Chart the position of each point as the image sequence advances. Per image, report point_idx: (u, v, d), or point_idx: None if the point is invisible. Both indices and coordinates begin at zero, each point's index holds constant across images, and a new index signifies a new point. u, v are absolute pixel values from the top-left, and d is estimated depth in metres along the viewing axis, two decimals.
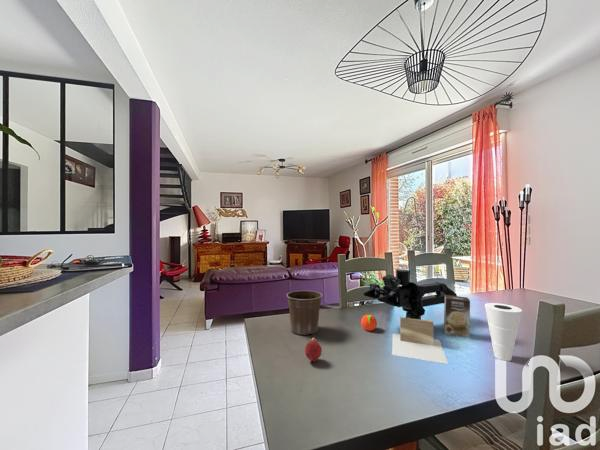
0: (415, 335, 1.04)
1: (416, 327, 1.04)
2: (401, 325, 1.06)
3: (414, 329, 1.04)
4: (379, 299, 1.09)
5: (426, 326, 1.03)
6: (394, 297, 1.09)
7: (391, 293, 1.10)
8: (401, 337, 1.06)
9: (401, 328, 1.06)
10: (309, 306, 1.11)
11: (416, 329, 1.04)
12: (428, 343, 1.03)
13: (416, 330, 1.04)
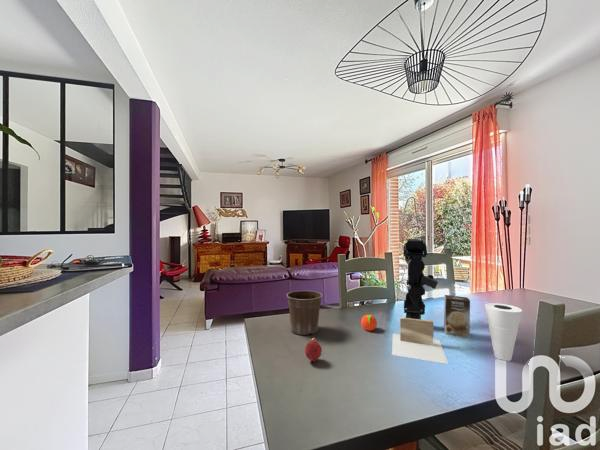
0: (415, 335, 1.04)
1: (416, 327, 1.04)
2: (401, 325, 1.06)
3: (414, 329, 1.04)
4: None
5: (426, 326, 1.03)
6: None
7: None
8: (401, 337, 1.06)
9: (401, 328, 1.06)
10: (309, 306, 1.11)
11: (416, 329, 1.04)
12: (428, 343, 1.03)
13: (416, 330, 1.04)
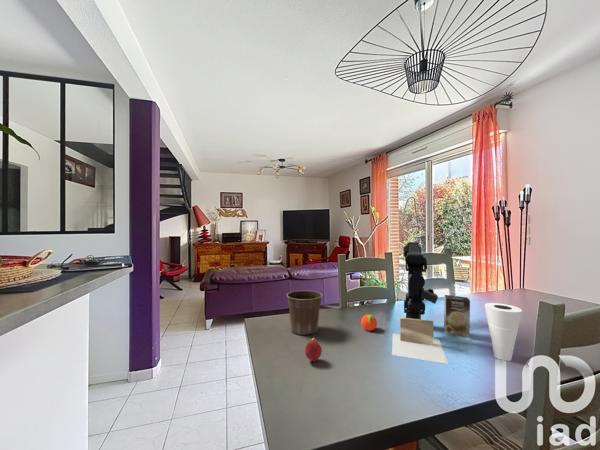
0: (415, 335, 1.04)
1: (416, 327, 1.04)
2: (401, 325, 1.06)
3: (414, 329, 1.04)
4: None
5: (426, 326, 1.03)
6: None
7: None
8: (401, 337, 1.06)
9: (401, 328, 1.06)
10: (309, 306, 1.11)
11: (416, 329, 1.04)
12: (428, 343, 1.03)
13: (416, 330, 1.04)
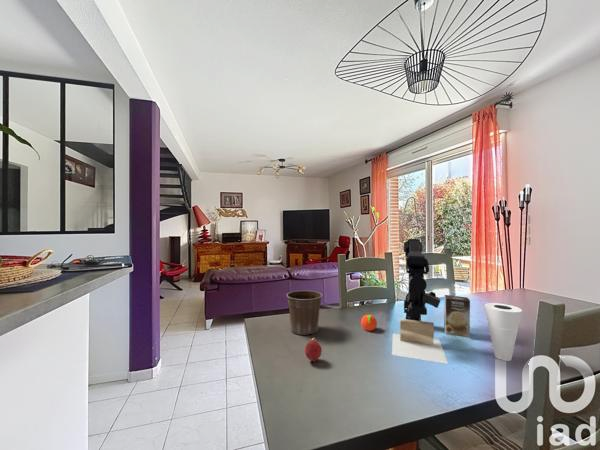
0: (415, 336, 1.04)
1: (416, 329, 1.03)
2: (401, 327, 1.05)
3: (414, 330, 1.03)
4: None
5: (426, 328, 1.01)
6: None
7: None
8: (401, 337, 1.06)
9: (401, 329, 1.05)
10: (309, 306, 1.11)
11: (416, 331, 1.03)
12: (428, 343, 1.03)
13: (416, 331, 1.03)
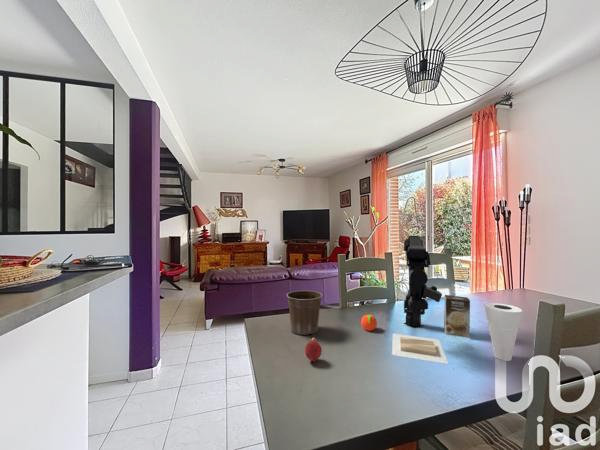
0: None
1: None
2: None
3: None
4: None
5: None
6: None
7: None
8: None
9: None
10: (309, 306, 1.11)
11: None
12: None
13: None
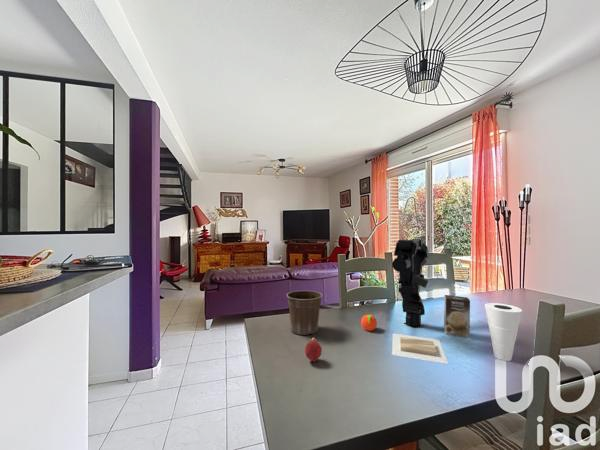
0: None
1: None
2: None
3: None
4: None
5: None
6: None
7: None
8: None
9: None
10: (309, 306, 1.11)
11: None
12: None
13: None
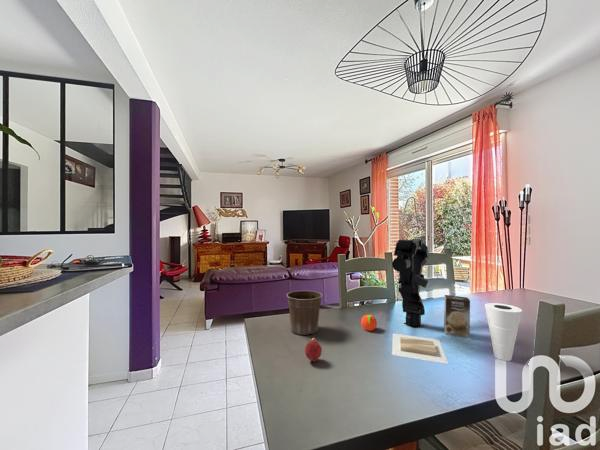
0: None
1: None
2: None
3: None
4: None
5: None
6: None
7: None
8: None
9: None
10: (309, 306, 1.11)
11: None
12: None
13: None
